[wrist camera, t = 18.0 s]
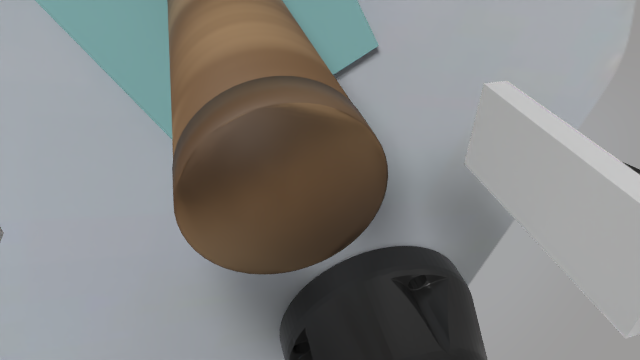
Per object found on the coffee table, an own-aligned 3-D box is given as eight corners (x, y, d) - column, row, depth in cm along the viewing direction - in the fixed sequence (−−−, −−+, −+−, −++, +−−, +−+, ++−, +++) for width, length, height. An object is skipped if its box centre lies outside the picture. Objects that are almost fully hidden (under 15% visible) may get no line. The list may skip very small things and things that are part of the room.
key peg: (265, 37, 21) (373, 258, 10) (172, 40, 20) (186, 288, 9) (265, -62, 19) (404, 93, 8) (159, -64, 18) (158, 110, 7)
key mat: (374, 41, 23) (378, 45, 23) (194, 156, 25) (195, 163, 24) (252, -212, 16) (255, -213, 16) (9, -34, 18) (6, -30, 17)
